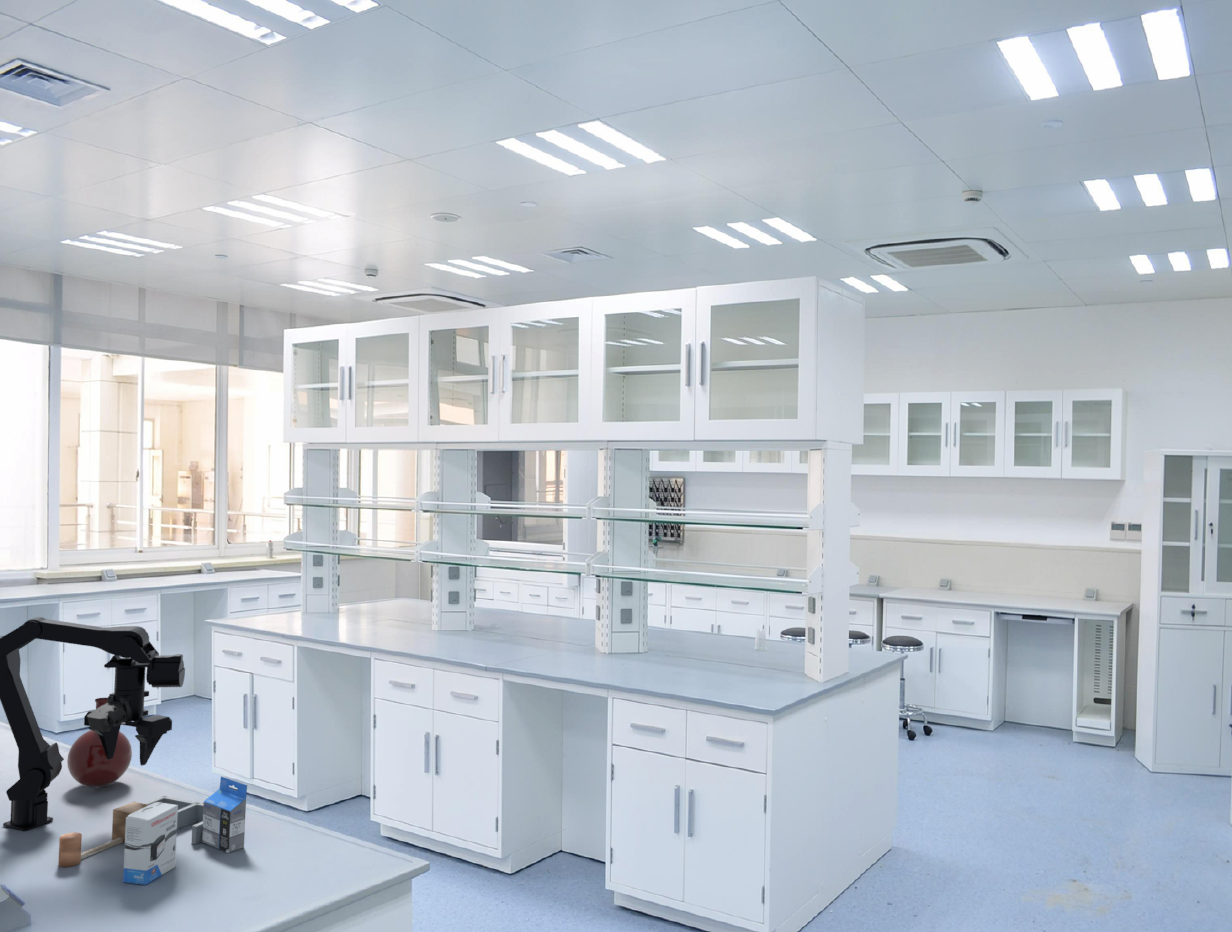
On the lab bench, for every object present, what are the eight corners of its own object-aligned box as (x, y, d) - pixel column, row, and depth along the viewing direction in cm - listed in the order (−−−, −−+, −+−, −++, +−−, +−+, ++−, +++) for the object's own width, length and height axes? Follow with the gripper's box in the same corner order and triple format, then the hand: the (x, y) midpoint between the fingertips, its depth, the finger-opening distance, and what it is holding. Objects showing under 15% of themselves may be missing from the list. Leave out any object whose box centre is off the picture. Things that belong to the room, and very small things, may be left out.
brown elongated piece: (51, 864, 174) (52, 831, 174) (132, 830, 191) (134, 801, 191) (70, 868, 172) (72, 836, 172) (151, 835, 189) (152, 805, 189)
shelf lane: (122, 828, 192) (123, 811, 192) (163, 812, 202) (164, 795, 202) (195, 844, 186) (196, 826, 186) (233, 826, 195) (234, 809, 195)
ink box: (145, 885, 167) (148, 819, 167) (121, 882, 168) (124, 816, 168) (177, 866, 175) (179, 803, 175) (153, 863, 176) (156, 800, 176)
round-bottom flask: (111, 796, 210) (115, 707, 210) (53, 794, 210) (57, 704, 211) (141, 777, 223) (145, 693, 224) (87, 775, 224) (90, 691, 224)
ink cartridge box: (200, 842, 186) (203, 780, 187) (218, 836, 190) (220, 775, 190) (228, 853, 182) (230, 790, 182) (245, 847, 185) (248, 784, 185)
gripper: (62, 690, 193) (59, 766, 193) (131, 701, 187) (128, 779, 187) (108, 680, 204) (105, 752, 203) (175, 689, 197) (172, 764, 197)
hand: (126, 761), depth 197 cm, fingers open, 9 cm apart
